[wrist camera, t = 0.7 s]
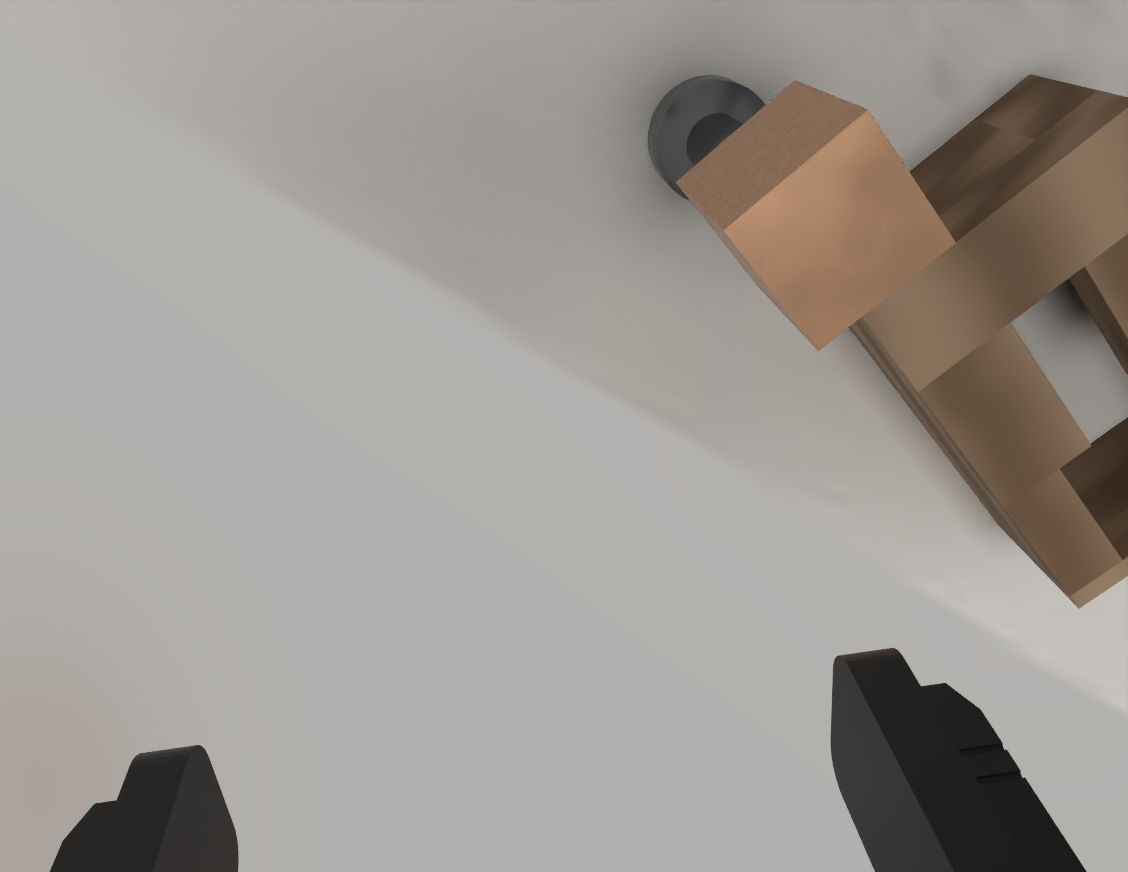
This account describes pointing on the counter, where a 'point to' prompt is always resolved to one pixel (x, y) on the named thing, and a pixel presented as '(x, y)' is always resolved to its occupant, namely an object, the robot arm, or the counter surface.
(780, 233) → the brown square-topped part
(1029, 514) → the keyhole block
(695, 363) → the counter surface
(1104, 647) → the counter surface
